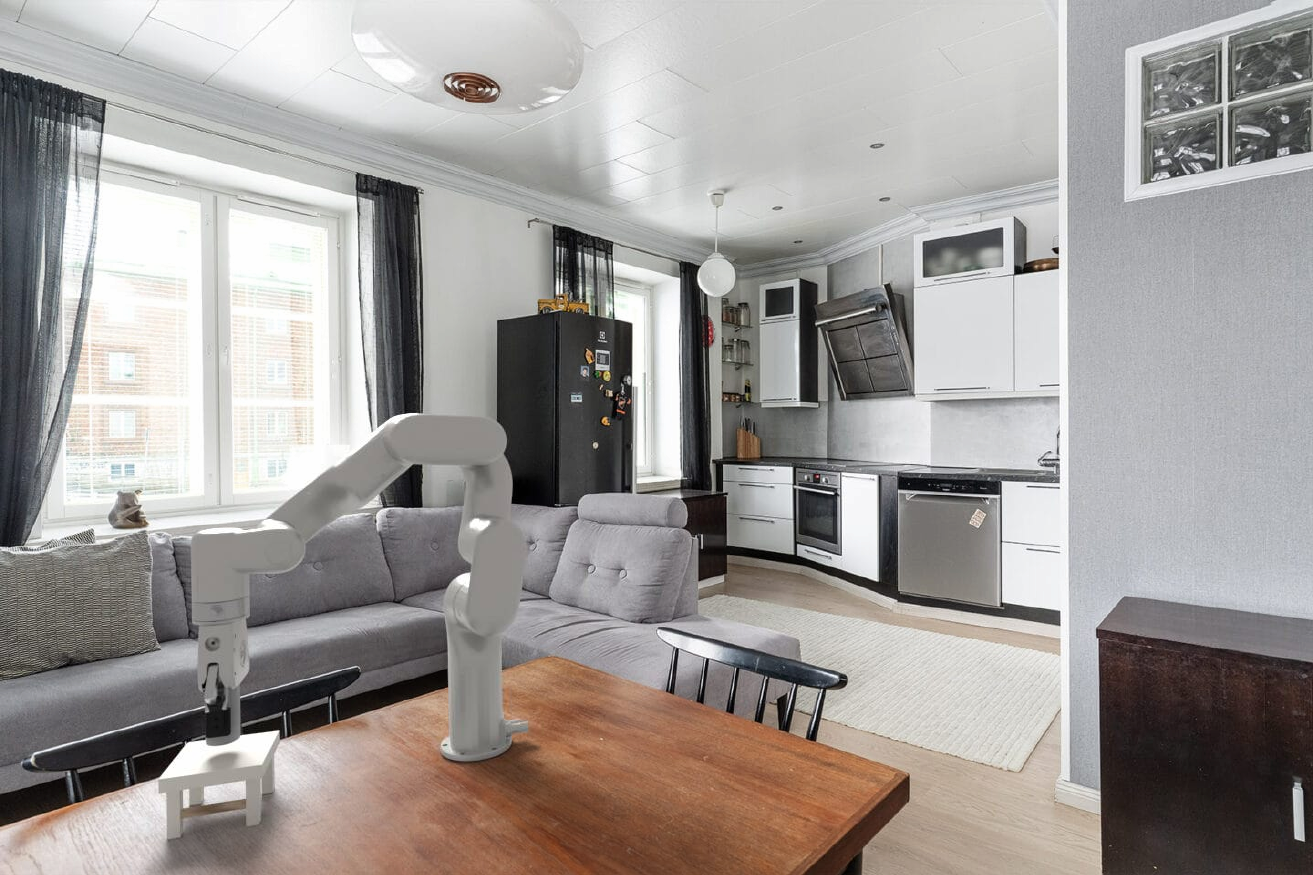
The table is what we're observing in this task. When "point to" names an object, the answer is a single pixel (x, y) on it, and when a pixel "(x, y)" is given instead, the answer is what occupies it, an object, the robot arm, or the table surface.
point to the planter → (235, 718)
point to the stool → (219, 777)
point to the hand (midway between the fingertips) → (223, 728)
